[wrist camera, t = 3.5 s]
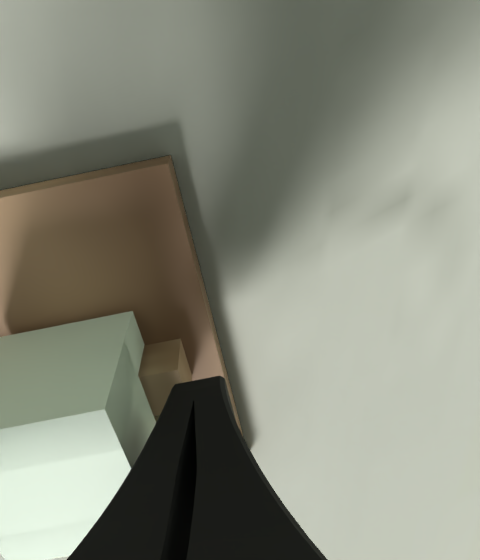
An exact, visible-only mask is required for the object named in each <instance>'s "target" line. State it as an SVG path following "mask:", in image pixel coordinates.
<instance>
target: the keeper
mask: <svg viewBox="0 0 480 560" xmlns="http://www.w3.org/2000/svg"><path fill="white" fill-rule="evenodd" d="M144 345H145V344H144V342H143V339H142V336H141V333H140V330H139V328H138V325H137V322H136V319H135V316H134V314H133V311H130V312H124V313H119V314H114V315H109V316H104V317H99V318H94V319H89V320H84V321H79V322H74V323H69V324H64V325H59V326H54V327H49V328H44V329H39V330H33V331H28V332H23V333H18V334H13V335H8V336H3V337H0V554H1V555H2V556H3V558H4V559H5V560H49V559H55V558H60V557H66V556H70V555H71V554H72V553H73V551H74V550H75V549H76V548H77V546H78V545H79V544H80V542H81V541H82V540H83V539H84V537H85V536H86V535H87V533H88V532H89V531H90V529H91V528H92V527H93V525H94V524H95V523H96V522H97V520H98V519H99V517H100V516H101V515H102V513H103V512H104V510H105V509H106V507H107V506H108V505H109V503H110V502H111V500H112V499H113V497H114V496H115V494H116V493H117V491H118V490H119V488H120V486H121V485H122V483H123V482H124V480H125V478H126V477H127V475H128V473H129V472H130V470H131V468H132V467H133V465H134V463H135V461H136V460H137V458H138V456H139V455H140V453H141V451H142V449H143V447H144V445H145V444H146V442H147V440H148V438H149V436H150V434H151V432H152V430H153V428H154V426H155V424H156V422H157V420H158V418H159V416H160V415H157V416H153V413H152V410H151V408H150V405H149V403H148V400H147V397H146V395H145V392H144V389H143V387H142V384H141V381H140V379H139V376H138V373H139V368H140V364H141V359H142V354H143V349H144Z"/></svg>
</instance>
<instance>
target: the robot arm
mask: <svg viewBox="0 0 480 560" xmlns="http://www.w3.org/2000/svg"><path fill="white" fill-rule="evenodd" d="M67 560H327V559H326V558H325V556H324V555H323V554H322V553H321V552H320V550H319V549H318V548H317V547H316V546H315V544H314V543H313V542H312V541H311V540H310V538H309V537H308V536H307V535H306V533H305V532H304V531H303V529H302V528H301V527H300V525H299V524H298V523H297V522H296V520H295V519H294V518H293V516H292V515H291V514H290V512H289V511H288V510H287V508H286V507H285V506H284V504H283V503H282V501H281V500H280V498H279V497H278V496H277V494H276V493H275V491H274V490H273V488H272V487H271V485H270V483H269V482H268V480H267V479H266V477H265V476H264V474H263V472H262V471H261V469H260V467H259V466H258V464H257V462H256V460H255V459H254V457H253V455H252V453H251V451H250V449H249V448H248V446H247V444H246V442H245V440H244V438H243V436H242V434H241V431H240V429H239V427H238V425H237V422H236V419H235V415H234V411H233V407H232V404H231V400H230V396H229V392H228V388H227V384H226V381H225V378H223V377H222V376H215V377H210V378H204V379H199V380H194V381H189V382H184V383H179V384H175V385H174V386H173V387H172V389H171V392H170V394H169V396H168V398H167V401H166V403H165V405H164V407H163V410H162V412H161V414H160V416H159V418H158V420H157V422H156V424H155V426H154V428H153V430H152V432H151V434H150V436H149V438H148V440H147V442H146V444H145V445H144V447H143V449H142V451H141V453H140V455H139V456H138V458H137V460H136V461H135V463H134V465H133V467H132V468H131V470H130V472H129V473H128V475H127V477H126V478H125V480H124V482H123V483H122V485H121V486H120V488H119V490H118V491H117V493H116V494H115V496H114V497H113V499H112V500H111V502H110V503H109V505H108V506H107V507H106V509H105V510H104V512H103V513H102V515H101V516H100V517H99V519H98V520H97V522H96V523H95V524H94V525H93V527H92V528H91V529H90V531H89V532H88V533H87V535H86V536H85V537H84V539H83V540H82V541H81V542H80V544H79V545H78V546H77V548H76V549H75V550H74V551H73V553H72V554H71V555H70V556H69V557H68V559H67Z"/></svg>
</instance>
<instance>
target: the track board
mask: <svg viewBox="0 0 480 560" xmlns="http://www.w3.org/2000/svg"><path fill="white" fill-rule="evenodd" d="M130 311H133V314H134V316H135V319H136V322H137V325H138V328H139V330H140V333H141V336H142V339H143V342H144V344H145V345H144V349H143V354H142V359H141V364H140V368H139V373H138V376H139V379H140V381H141V384H142V387H143V389H144V392H145V395H146V397H147V400H148V403H149V405H150V408H151V410H152V413H153V416H157V415H160V414H161V412H162V410H163V407H164V405H165V403H166V401H167V398H168V396H169V394H170V392H171V389H172V387H173V386H174V385H175V384H179V383H184V382H189V381H194V380H199V379H204V378H210V377H215V376H222V377H223V378H225V381H226V384H227V388H228V392H229V396H230V400H231V404H232V407H233V411H234V415H235V419H236V422H237V425H238V427H239V429H240V431H241V434H242V436H243V433H242V429H241V425H240V422H239V418H238V414H237V410H236V406H235V402H234V398H233V394H232V391H231V387H230V383H229V379H228V375H227V371H226V367H225V363H224V360H223V356H222V352H221V348H220V344H219V340H218V336H217V332H216V329H215V325H214V321H213V317H212V313H211V309H210V305H209V301H208V298H207V294H206V290H205V286H204V282H203V278H202V274H201V270H200V267H199V263H198V259H197V255H196V251H195V247H194V243H193V239H192V236H191V232H190V228H189V224H188V220H187V216H186V212H185V208H184V205H183V201H182V197H181V193H180V189H179V185H178V181H177V177H176V174H175V170H174V166H173V162H172V158H171V155H169V156H164V157H159V158H154V159H149V160H145V161H140V162H135V163H130V164H125V165H121V166H116V167H111V168H106V169H101V170H96V171H92V172H87V173H82V174H77V175H72V176H67V177H63V178H58V179H53V180H48V181H43V182H38V183H34V184H29V185H24V186H19V187H14V188H9V189H5V190H0V337H3V336H8V335H13V334H18V333H23V332H28V331H33V330H39V329H44V328H49V327H54V326H59V325H64V324H69V323H74V322H79V321H84V320H89V319H94V318H99V317H104V316H109V315H114V314H119V313H124V312H130ZM243 438H244V437H243Z"/></svg>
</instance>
